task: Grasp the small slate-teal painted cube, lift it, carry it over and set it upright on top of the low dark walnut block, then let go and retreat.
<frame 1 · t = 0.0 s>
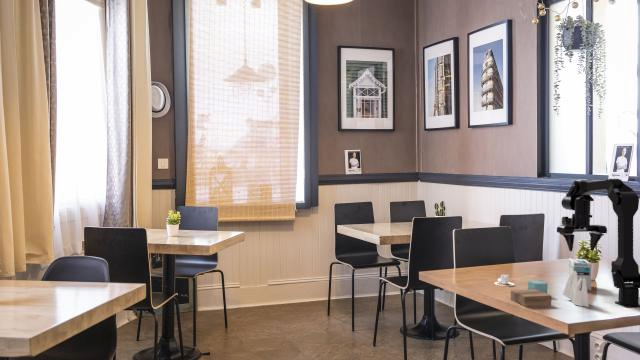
hand: (581, 251, 245), 15 cm above the table, fingers open, 9 cm apart
teacup and saucer: (510, 285, 252), on the table
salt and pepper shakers: (575, 303, 220), on the table
walnut block: (530, 304, 219), on the table
light bulb box: (579, 288, 246), on the table
teal cube: (537, 295, 232), on the table
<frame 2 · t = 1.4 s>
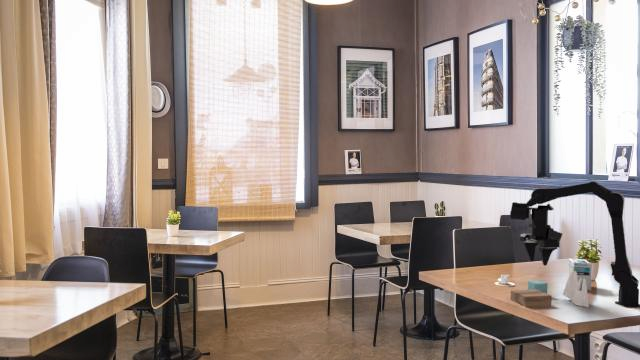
hand: (538, 263, 231), 12 cm above the table, fingers open, 9 cm apart
nothing on the table moved.
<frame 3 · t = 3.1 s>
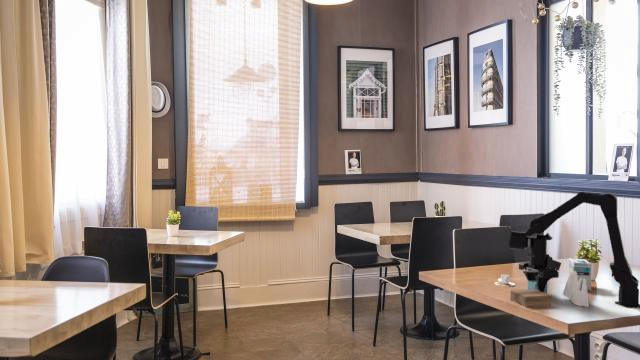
hand: (537, 292, 232), 1 cm above the table, fingers closed on teal cube, 5 cm apart
teal cube: (537, 295, 232), on the table, touching gripper
everything else where it was.
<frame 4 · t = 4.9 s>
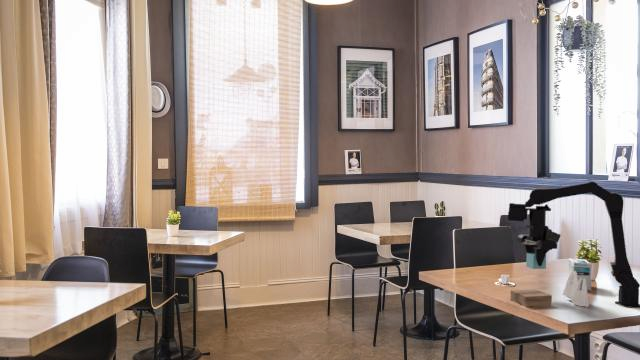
hand: (536, 264, 228), 12 cm above the table, fingers closed on teal cube, 5 cm apart
teal cube: (535, 267, 228), point 11 cm above the table, touching gripper
everything else where it was.
when the fingers open (6 cm above the table, at t = 6.9 s): teal cube drops 2 cm, point 4 cm above the table.
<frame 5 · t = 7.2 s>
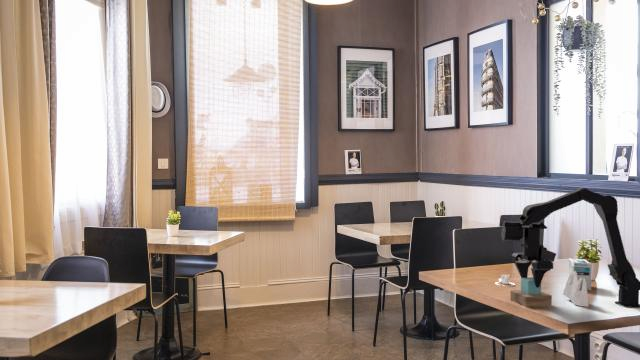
hand: (531, 284, 219), 6 cm above the table, fingers open, 8 cm apart
teal cube: (530, 292, 219), point 4 cm above the table
everything else where it was.
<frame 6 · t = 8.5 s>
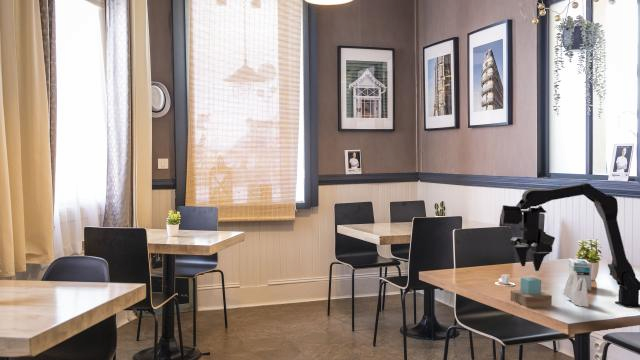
hand: (530, 268, 220), 12 cm above the table, fingers open, 9 cm apart
walnut block: (530, 304, 219), on the table, touching teal cube
teal cube: (530, 292, 219), point 4 cm above the table, touching walnut block
everything else where it was.
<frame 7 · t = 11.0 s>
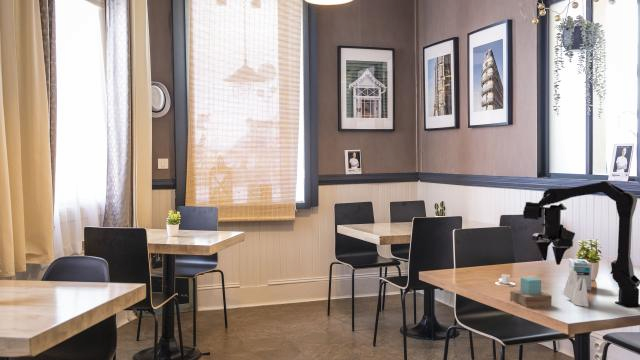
hand: (551, 262, 233), 12 cm above the table, fingers open, 9 cm apart
walnut block: (530, 304, 219), on the table
teal cube: (530, 292, 219), point 4 cm above the table
everything else where it was.
at the end: teal cube 0.4 cm off-centre on the walnut block, point 4.0 cm above the walnut block's base; teal cube tilted 0°; the gripper is holding nothing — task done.
